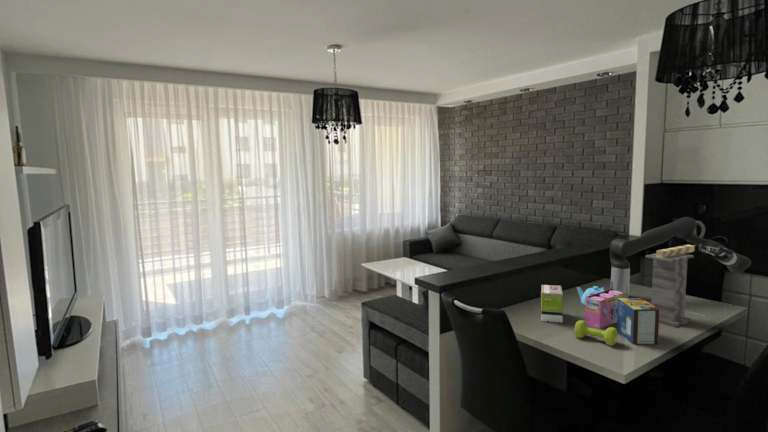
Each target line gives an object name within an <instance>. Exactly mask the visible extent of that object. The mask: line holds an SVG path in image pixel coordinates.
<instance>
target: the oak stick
mask: <svg viewBox="0 0 768 432" xmlns="http://www.w3.org/2000/svg"><path fill="white" fill-rule="evenodd" d="M695 247H696V245H695V244H693V245H692V244H684V245H679V246H674V247H669V248H663V249H657V250H656V251H655V252H656V257H660V258H665V257H670V256H675V255H680V254H690V253H693V252H695V251H696V248H695Z"/></svg>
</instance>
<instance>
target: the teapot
mask: <svg viewBox="0 0 768 432" xmlns="http://www.w3.org/2000/svg"><path fill="white" fill-rule="evenodd" d="M576 290H577V293H578V297H579V299H580V303H581V304H582V305H583V307H585V300H586V297H587V296H591V295H594V294H597V293H600V292H603V291H605V287H603V286H602V287H600V288H599V286H596V285H594V286H592V287H589V288H587V289H586V290H585V291H583V289H582V288H581V287H579V286H577V287H576Z"/></svg>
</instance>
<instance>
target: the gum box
mask: <svg viewBox="0 0 768 432" xmlns="http://www.w3.org/2000/svg"><path fill="white" fill-rule="evenodd" d="M618 298H626V292H624V293H622V292H619V291H615V290H614V289H610V288H609V289H606V290H604V291H603V292H600V293H597V294H594V295H591V296H587V297H586V300H585V306H584V321H585V322H586V325H587V326H588V327H591V328H594V329H598V330H602V329H603V328H606V327H608V326H611V325H613V324H617V313H618Z"/></svg>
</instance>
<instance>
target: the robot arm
mask: <svg viewBox="0 0 768 432" xmlns="http://www.w3.org/2000/svg"><path fill="white" fill-rule="evenodd" d="M697 223H698V221H697V220H695V218H693V217H690V216H683V217H681V218H679V219H676V220H674V221H672V222H669V223H667V224H664V225H660V226H659V227H655V228H651V229H648V230H645V232H643V233H642V234H641V235H640V236H639V237H638V238H633V239H631V240H628V239H622V238H614V239H613V240H612V241H611V242H610V245H609V259H610V264H611V270H610V271H611V273H610V285H609V286H610V288H609V289H614V290H615V291H619V292H622V293H624V292H626V298H629V297H630V280H631V279H630V277H631V276H630V275H631V263H630V262H629V261H628V260H627V259H626V257H630V256H632V255H634V254H636V253H639V252H641V251H643V250H646V249H649V248H651V247H655V246H658V245H662V244H663V243H665V242H667V241H668V240H670V239H672V238H673V237H675V236H678V237H679V238H682V239H683V240H685V241H687V242H689V243H691V244H693V245H695V246H698V251H700V252H701V253H703V254H710V255H712V257H713V259H715V260H716V261H718V262H720V263H721V264H723V265H726V268H727V269H728V270H729V271H730V272H731V273H732V274H735V275H740V274H742V273H743V272H744V271H745V270H747V269H748V268H749V267H750V266H751V265H752V260H751V259H750V258H749V257H746V256H745V255H741V254H739V253H737V252H736V251H734V250H732V249H730V248H729V249H728V248H727V247H726V246H724V245H723V244H721V243H719V242H717V241H715V240H712V239H706V238H703V237H700V236H698V235H697V234H695V233H694V231H695V230H696V228H697V226H698V224H697Z"/></svg>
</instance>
